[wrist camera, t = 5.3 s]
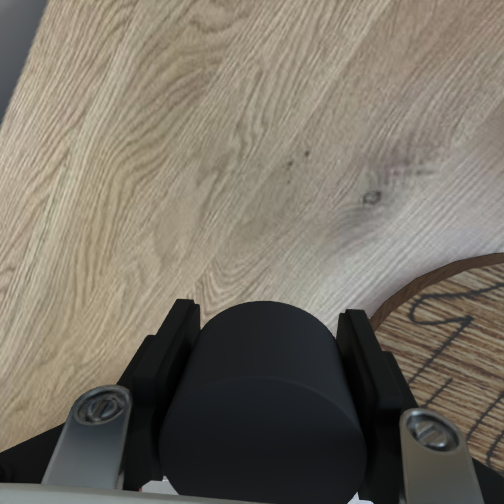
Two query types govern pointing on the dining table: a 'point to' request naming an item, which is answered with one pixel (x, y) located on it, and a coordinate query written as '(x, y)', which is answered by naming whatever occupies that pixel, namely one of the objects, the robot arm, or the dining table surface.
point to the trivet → (454, 348)
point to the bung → (264, 412)
